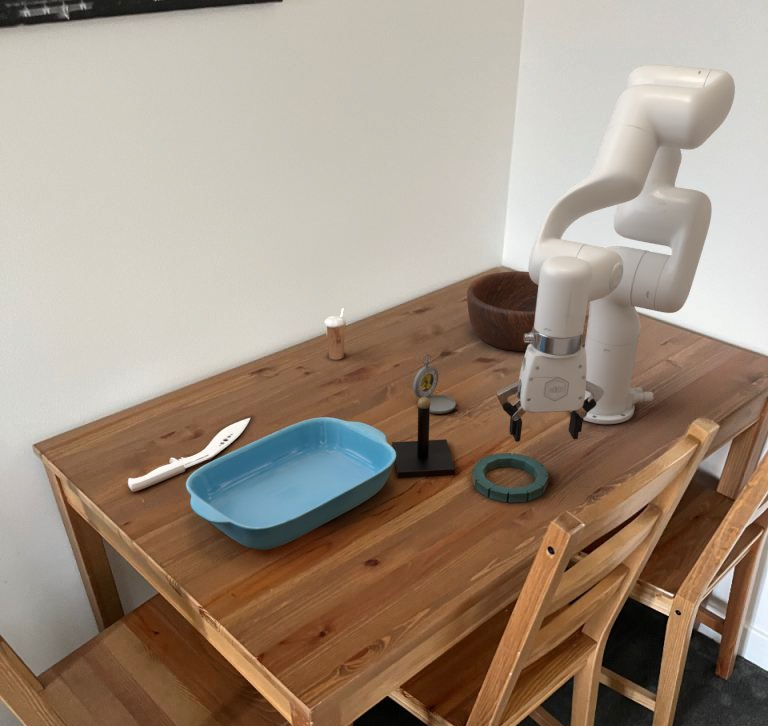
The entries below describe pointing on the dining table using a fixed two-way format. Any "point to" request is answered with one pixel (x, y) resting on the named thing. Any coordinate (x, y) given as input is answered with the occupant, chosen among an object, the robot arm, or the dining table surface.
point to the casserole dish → (291, 480)
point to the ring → (510, 493)
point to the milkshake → (335, 336)
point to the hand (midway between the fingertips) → (544, 436)
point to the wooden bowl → (503, 308)
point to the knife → (189, 458)
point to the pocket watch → (431, 389)
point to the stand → (423, 450)
